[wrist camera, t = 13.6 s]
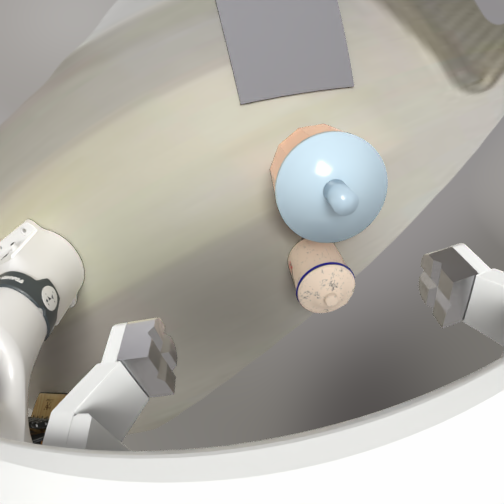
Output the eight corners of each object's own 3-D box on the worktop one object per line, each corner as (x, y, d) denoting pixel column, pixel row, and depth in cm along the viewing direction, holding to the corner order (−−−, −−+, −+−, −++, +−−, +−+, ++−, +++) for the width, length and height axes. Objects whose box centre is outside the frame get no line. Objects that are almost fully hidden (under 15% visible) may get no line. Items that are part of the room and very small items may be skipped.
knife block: (50, 371, 65) (18, 476, 39) (108, 436, 84) (98, 519, 57) (21, 370, 65) (-12, 465, 39) (81, 434, 83) (68, 512, 57)
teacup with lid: (274, 258, 53) (287, 304, 43) (317, 223, 50) (341, 263, 40) (316, 296, 58) (334, 342, 48) (355, 266, 55) (381, 308, 46)
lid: (285, 250, 44) (292, 270, 40) (263, 143, 36) (269, 153, 32) (385, 226, 43) (401, 243, 39) (380, 123, 35) (399, 131, 31)
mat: (240, 103, 40) (241, 104, 39) (214, -3, 31) (214, -4, 31) (352, 86, 39) (354, 86, 39) (331, -17, 31) (332, -18, 30)
